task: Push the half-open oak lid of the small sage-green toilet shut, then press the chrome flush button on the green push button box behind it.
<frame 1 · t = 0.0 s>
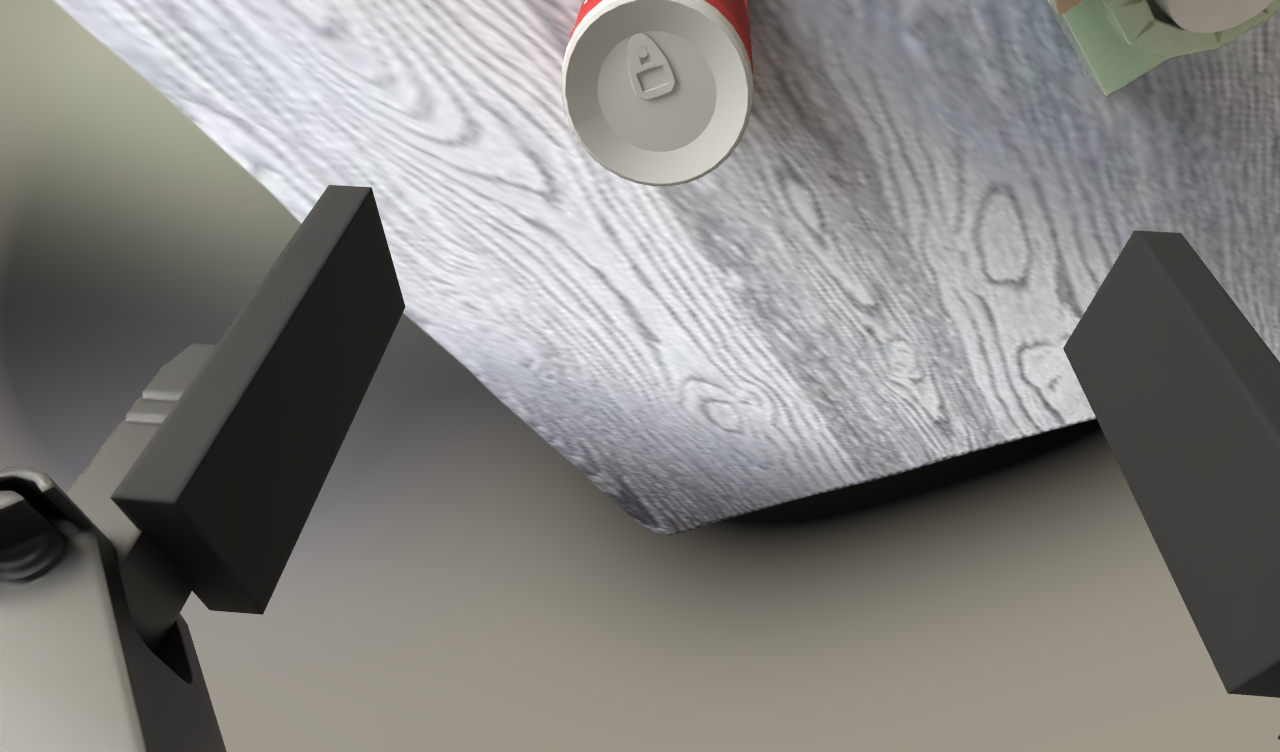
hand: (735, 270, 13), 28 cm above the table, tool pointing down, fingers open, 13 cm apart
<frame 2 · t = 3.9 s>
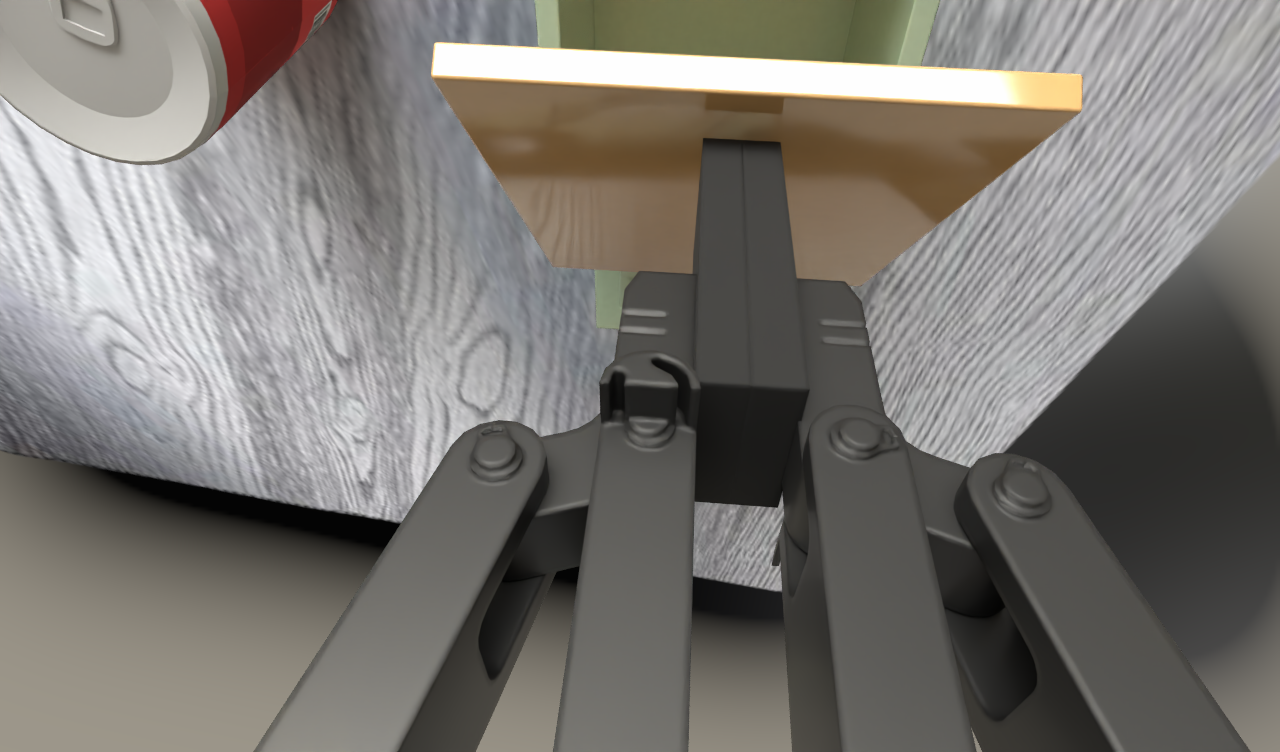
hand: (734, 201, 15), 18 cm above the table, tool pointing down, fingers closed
toilet lid: (720, 205, 20), point 14 cm above the table, hinge at 38.8°, touching gripper
green push button box: (700, 233, 36), on the table
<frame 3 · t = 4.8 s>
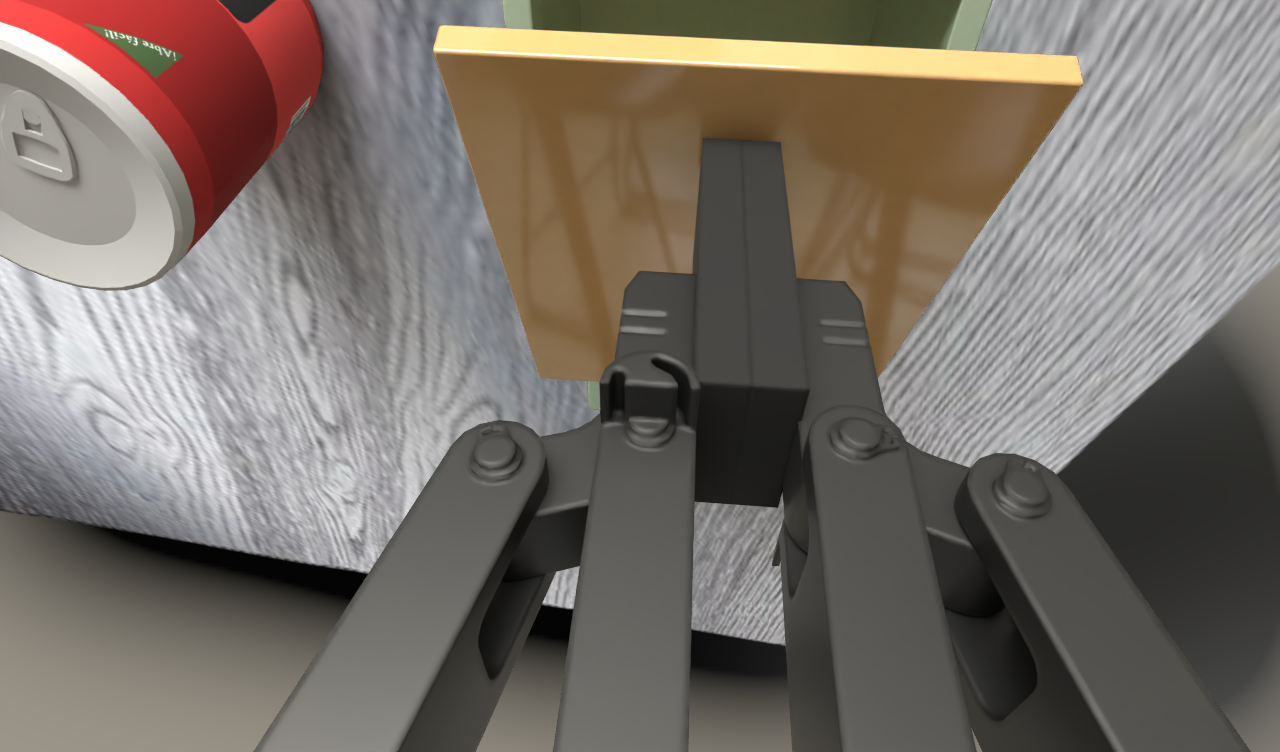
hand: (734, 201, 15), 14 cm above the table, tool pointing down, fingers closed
toilet lid: (717, 271, 19), point 11 cm above the table, hinge at 19.3°, touching gripper
green push button box: (696, 313, 35), on the table
toilet: (718, 81, 27), on the table
canned food: (229, 20, 27), on the table
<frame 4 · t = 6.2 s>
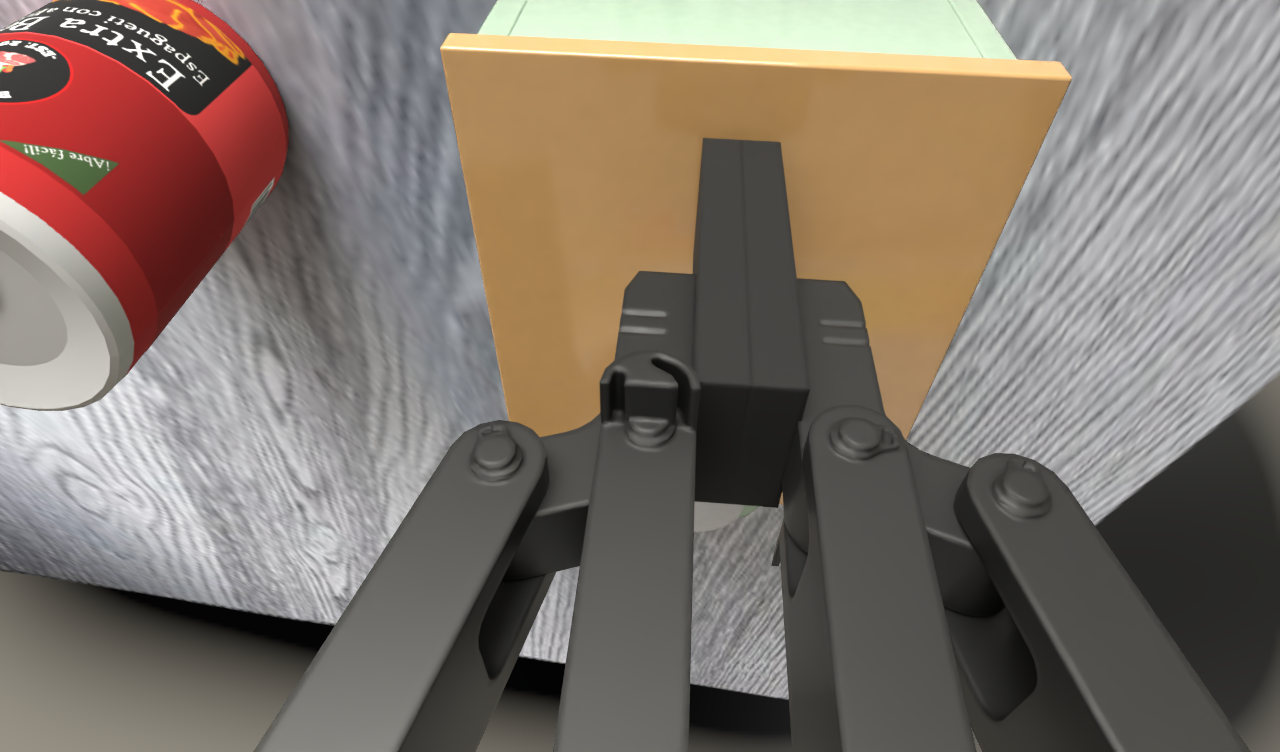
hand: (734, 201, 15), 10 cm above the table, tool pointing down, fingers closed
toilet lid: (715, 332, 18), point 9 cm above the table, hinge at 1.0°, touching gripper
toilet: (715, 160, 25), on the table
flush button: (689, 485, 30), point 5 cm above the table, slide at 0.1 cm
canned food: (186, 95, 25), on the table
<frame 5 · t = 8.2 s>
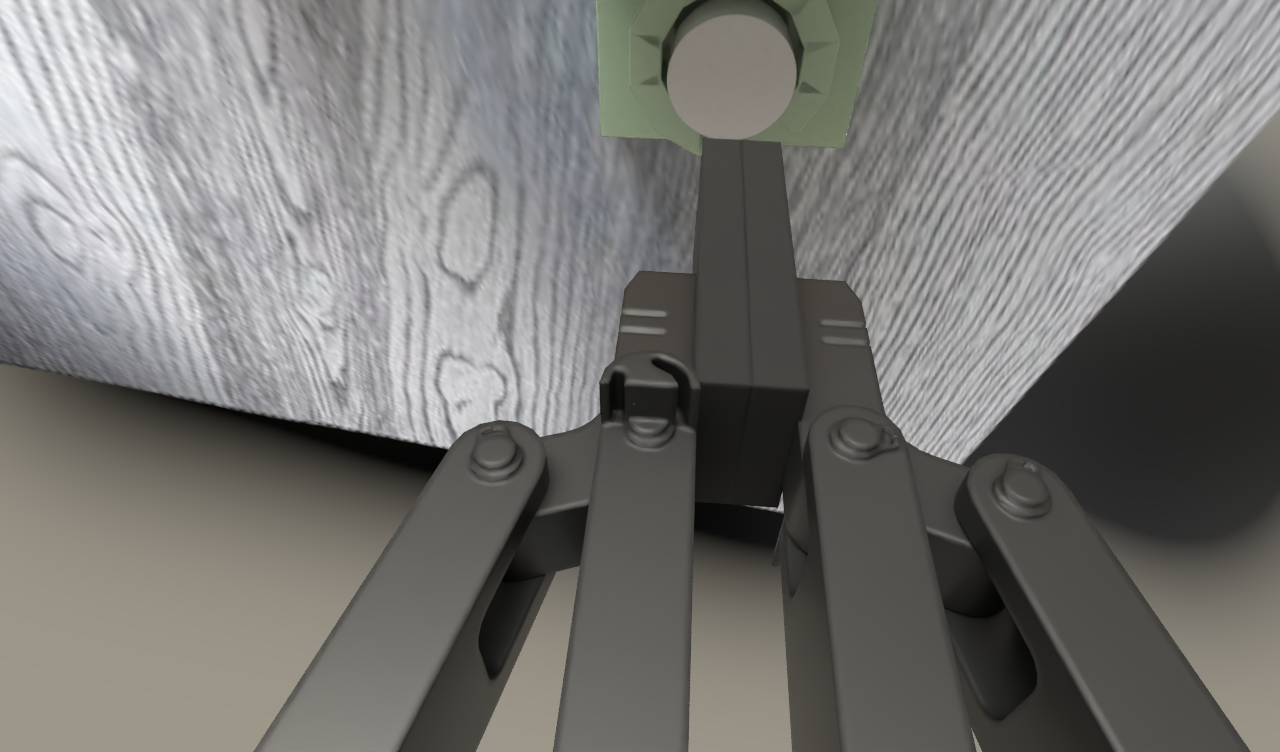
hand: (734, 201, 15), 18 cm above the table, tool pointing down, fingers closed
green push button box: (730, 11, 29), on the table
flush button: (731, 70, 25), point 5 cm above the table, slide at 0.1 cm
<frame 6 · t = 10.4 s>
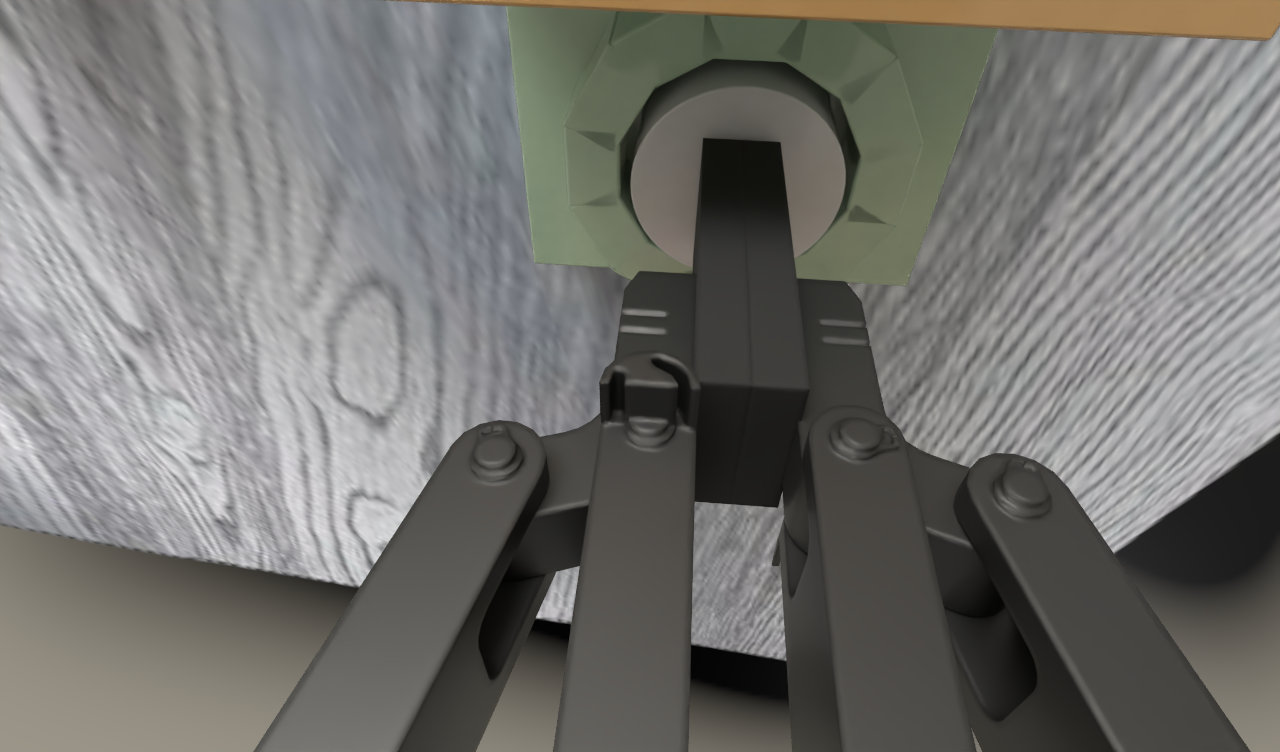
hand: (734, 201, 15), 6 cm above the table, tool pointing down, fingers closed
green push button box: (733, 76, 19), on the table
flush button: (735, 169, 16), point 5 cm above the table, slide at -0.8 cm, touching gripper
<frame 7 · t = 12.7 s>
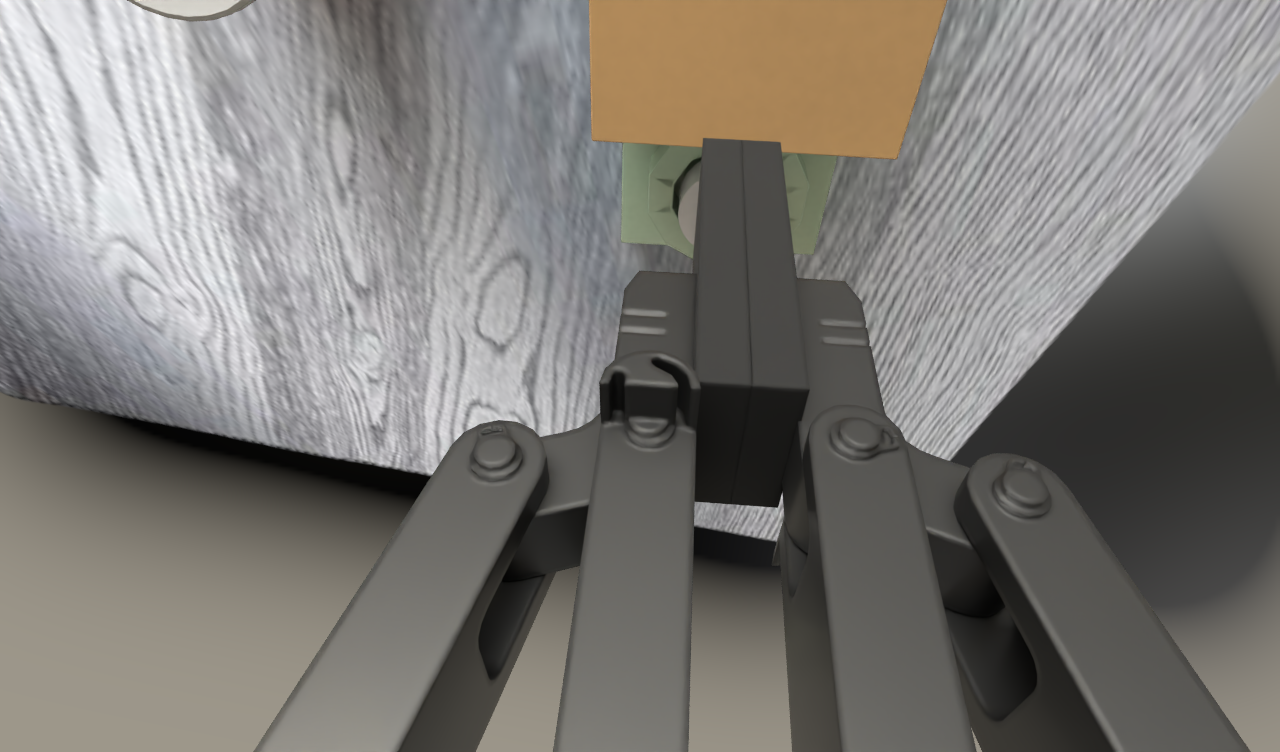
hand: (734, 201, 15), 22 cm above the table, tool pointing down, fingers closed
green push button box: (724, 147, 37), on the table
flush button: (726, 205, 33), point 5 cm above the table, slide at 0.1 cm
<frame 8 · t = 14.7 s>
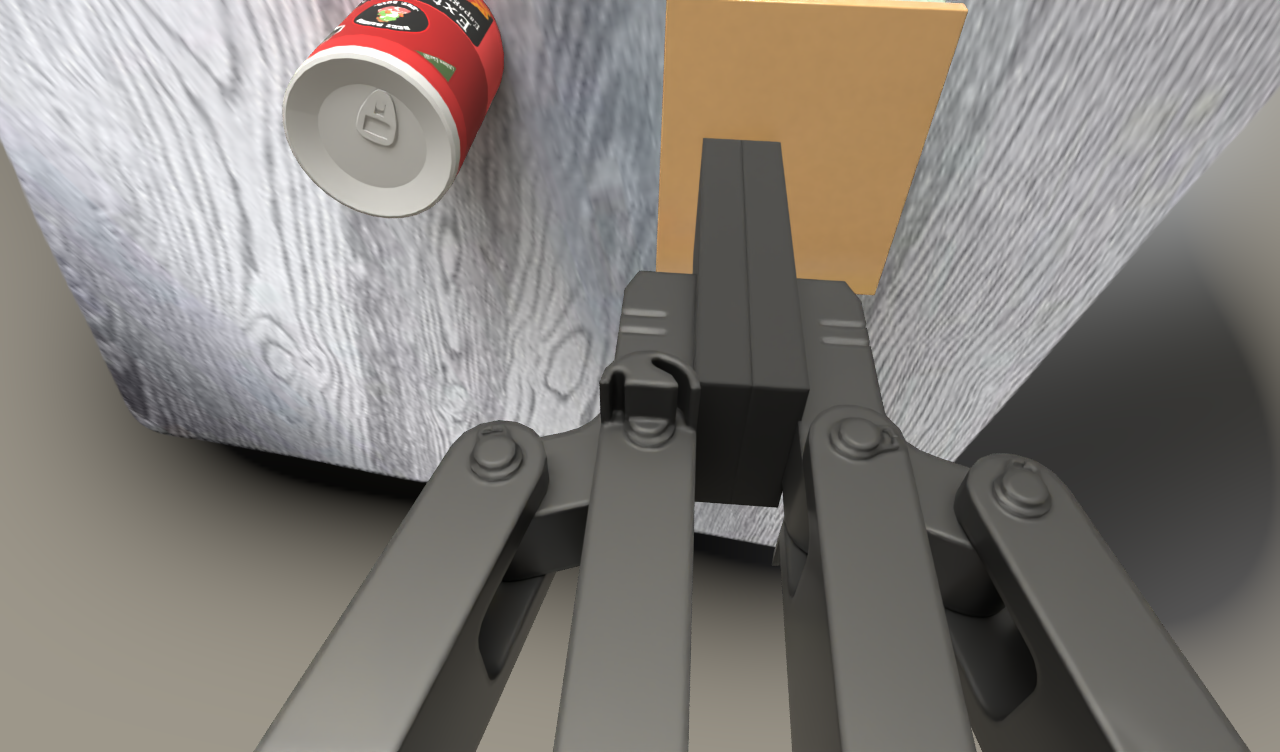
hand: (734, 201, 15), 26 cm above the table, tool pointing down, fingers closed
toilet lid: (785, 164, 33), point 9 cm above the table, hinge at 1.0°
canned food: (438, 42, 40), on the table
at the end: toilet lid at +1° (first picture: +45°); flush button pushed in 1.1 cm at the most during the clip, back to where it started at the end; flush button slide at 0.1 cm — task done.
